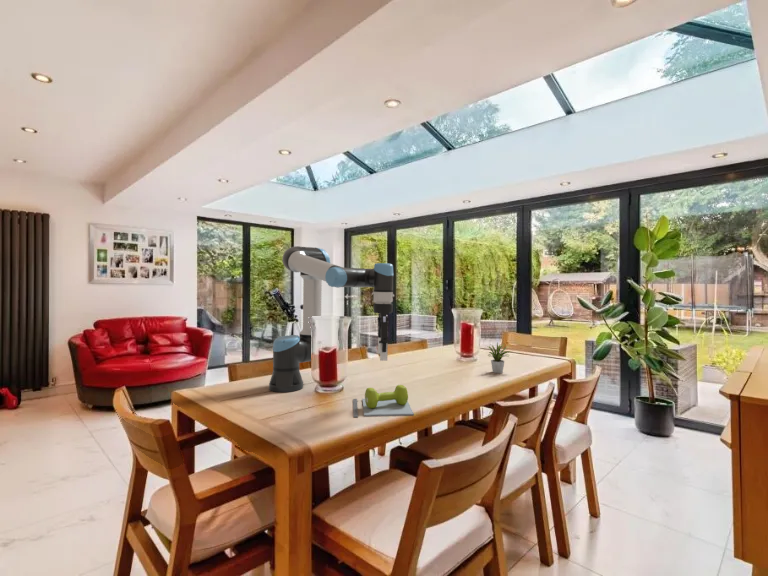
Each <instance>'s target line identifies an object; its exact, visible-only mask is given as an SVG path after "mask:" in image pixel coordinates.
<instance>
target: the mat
mask: <svg viewBox="0 0 768 576" xmlns="http://www.w3.org/2000/svg"><path fill="white" fill-rule="evenodd" d="M361 400H362V409H363V417H389V416H392V417H396V416H397V417H398V416H414V415H415V414H414V411H413V409H412V407H411V405H410V404H409V401H408V400H407V403H406V404H405V405H399V404H398V403H397V402H396V400H388V401H378V403H377V406H376V408H372V409H370V408H368V407H367V405H366V403H365V398H362V399H361Z"/></svg>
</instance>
